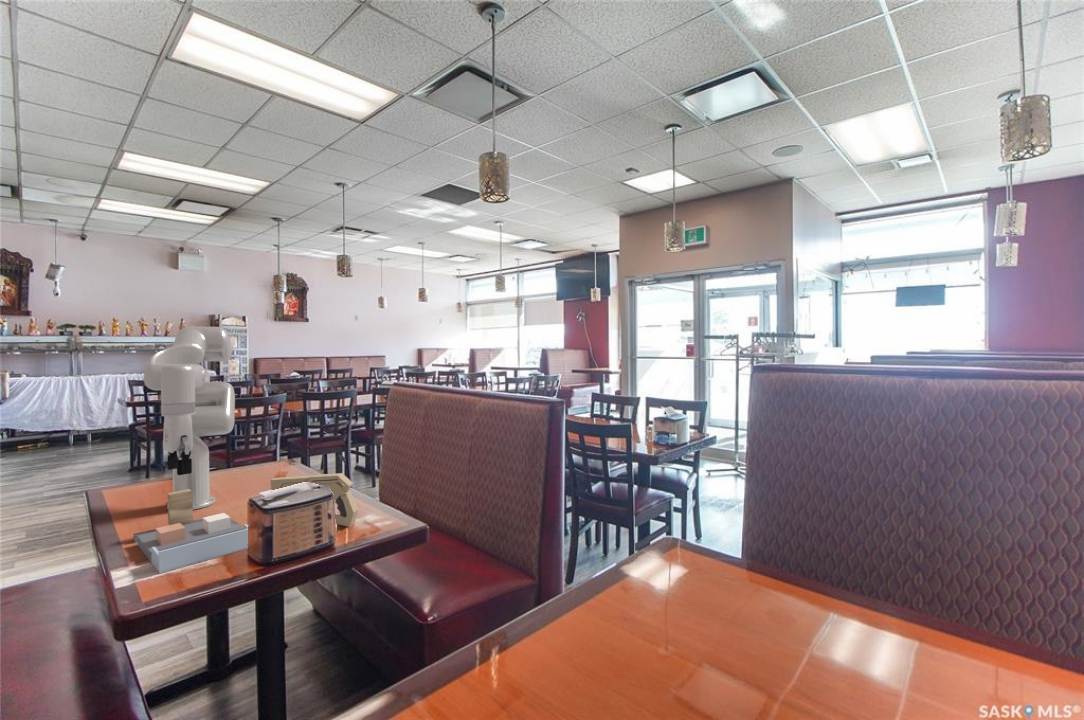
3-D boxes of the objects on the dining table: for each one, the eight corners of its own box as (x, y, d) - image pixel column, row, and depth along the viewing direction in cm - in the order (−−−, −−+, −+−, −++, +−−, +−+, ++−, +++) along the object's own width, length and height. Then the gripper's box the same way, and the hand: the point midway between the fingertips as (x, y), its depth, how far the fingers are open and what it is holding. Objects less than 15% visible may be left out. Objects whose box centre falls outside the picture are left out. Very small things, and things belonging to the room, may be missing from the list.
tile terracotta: (155, 540, 122) (155, 528, 122) (180, 534, 126) (179, 522, 126) (160, 545, 119) (160, 533, 119) (185, 539, 123) (185, 527, 123)
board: (137, 545, 125) (137, 535, 125) (226, 523, 140) (226, 515, 140) (150, 562, 115) (150, 552, 115) (244, 537, 130) (244, 528, 130)
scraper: (133, 540, 128) (132, 499, 128) (220, 520, 143) (220, 483, 143) (135, 544, 126) (134, 502, 126) (223, 522, 141) (223, 485, 141)
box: (151, 563, 115) (150, 542, 115) (245, 538, 130) (245, 519, 130) (159, 573, 110) (159, 552, 109) (256, 546, 125) (256, 527, 125)
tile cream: (202, 528, 130) (202, 517, 130) (224, 523, 134) (224, 512, 133) (208, 533, 127) (208, 522, 126) (230, 528, 130) (230, 517, 130)
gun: (359, 523, 141) (355, 472, 141) (354, 527, 138) (349, 475, 138) (281, 526, 144) (276, 476, 143) (274, 531, 140) (269, 479, 140)
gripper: (154, 408, 136) (155, 469, 137) (169, 413, 125) (170, 479, 125) (186, 406, 142) (187, 464, 142) (204, 410, 131) (205, 473, 131)
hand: (179, 471), depth 134 cm, fingers open, 9 cm apart
